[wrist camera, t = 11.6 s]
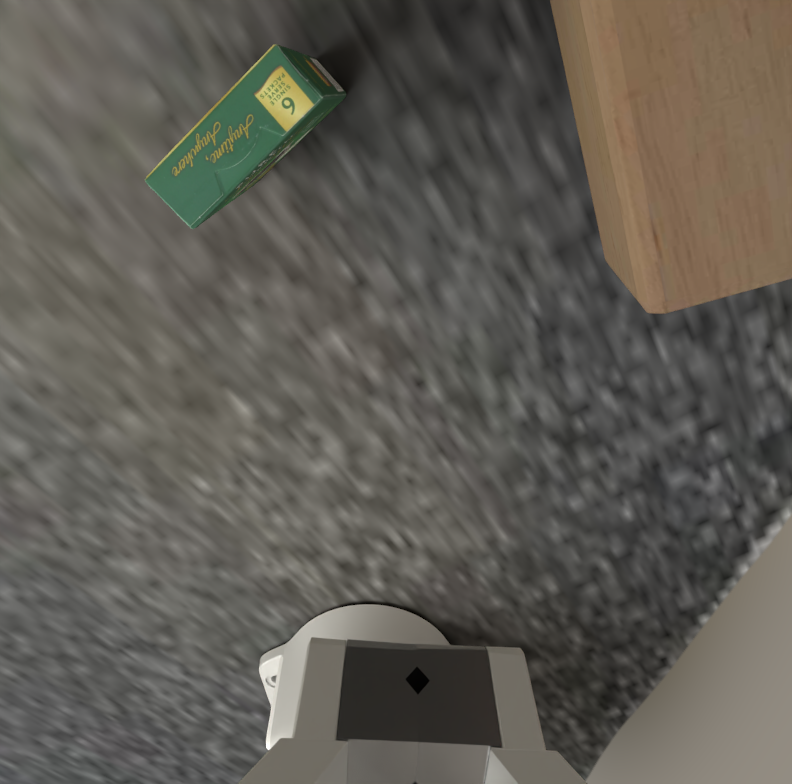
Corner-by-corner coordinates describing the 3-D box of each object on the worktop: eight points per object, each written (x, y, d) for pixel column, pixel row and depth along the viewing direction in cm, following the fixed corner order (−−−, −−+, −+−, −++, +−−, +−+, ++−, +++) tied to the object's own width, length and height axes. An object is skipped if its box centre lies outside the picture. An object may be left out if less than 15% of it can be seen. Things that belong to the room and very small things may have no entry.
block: (873, 264, 30) (847, -294, 22) (647, 326, 32) (552, -165, 24) (776, 220, 39) (734, -189, 31) (605, 271, 41) (525, -100, 33)
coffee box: (318, 48, 36) (274, 36, 24) (353, 92, 37) (327, 101, 25) (218, 149, 39) (134, 182, 27) (253, 188, 40) (187, 237, 28)
